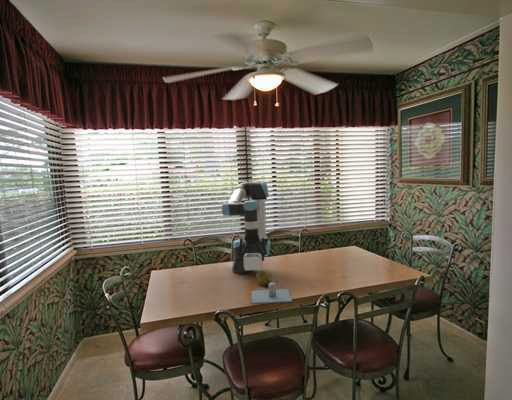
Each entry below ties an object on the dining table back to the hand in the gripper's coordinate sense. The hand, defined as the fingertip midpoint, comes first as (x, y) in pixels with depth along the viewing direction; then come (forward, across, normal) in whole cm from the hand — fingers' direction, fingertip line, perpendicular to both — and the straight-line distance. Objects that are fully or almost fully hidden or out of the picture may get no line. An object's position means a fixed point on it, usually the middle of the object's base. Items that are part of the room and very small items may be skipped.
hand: (253, 266), depth 169 cm
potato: (+18, +6, +18) cm, 26 cm away
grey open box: (0, 0, 0) cm, 0 cm away
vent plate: (+18, +10, -1) cm, 21 cm away
